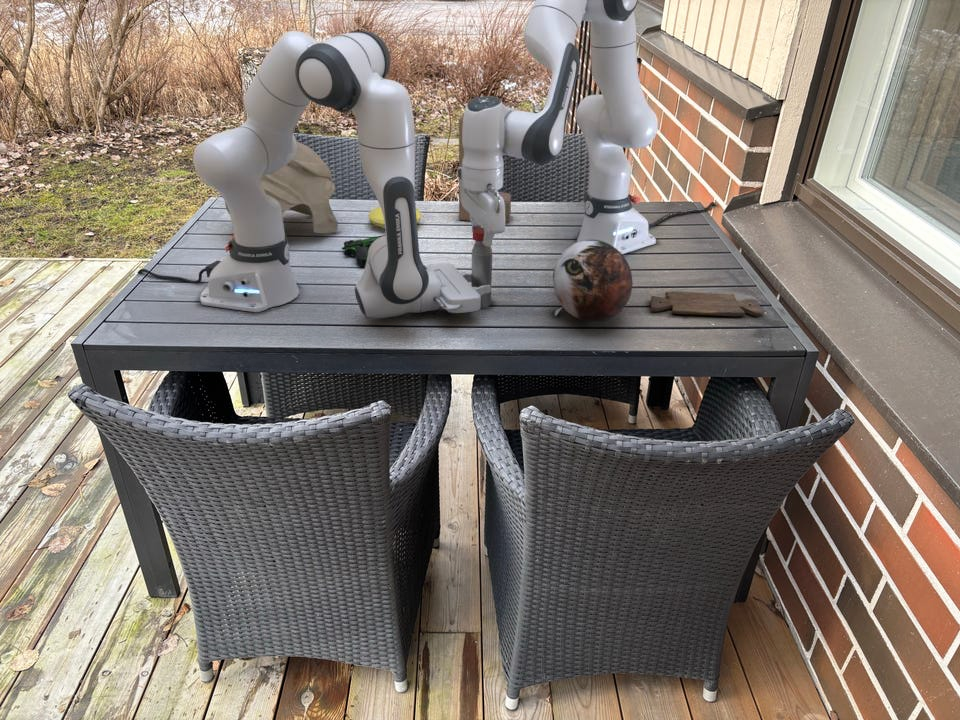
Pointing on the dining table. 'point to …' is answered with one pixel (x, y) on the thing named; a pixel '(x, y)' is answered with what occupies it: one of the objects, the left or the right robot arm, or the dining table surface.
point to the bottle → (482, 270)
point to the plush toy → (592, 281)
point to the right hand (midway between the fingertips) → (481, 239)
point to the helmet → (304, 188)
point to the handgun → (358, 249)
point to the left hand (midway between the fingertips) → (484, 282)
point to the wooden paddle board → (705, 304)
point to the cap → (478, 234)
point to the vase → (378, 218)
